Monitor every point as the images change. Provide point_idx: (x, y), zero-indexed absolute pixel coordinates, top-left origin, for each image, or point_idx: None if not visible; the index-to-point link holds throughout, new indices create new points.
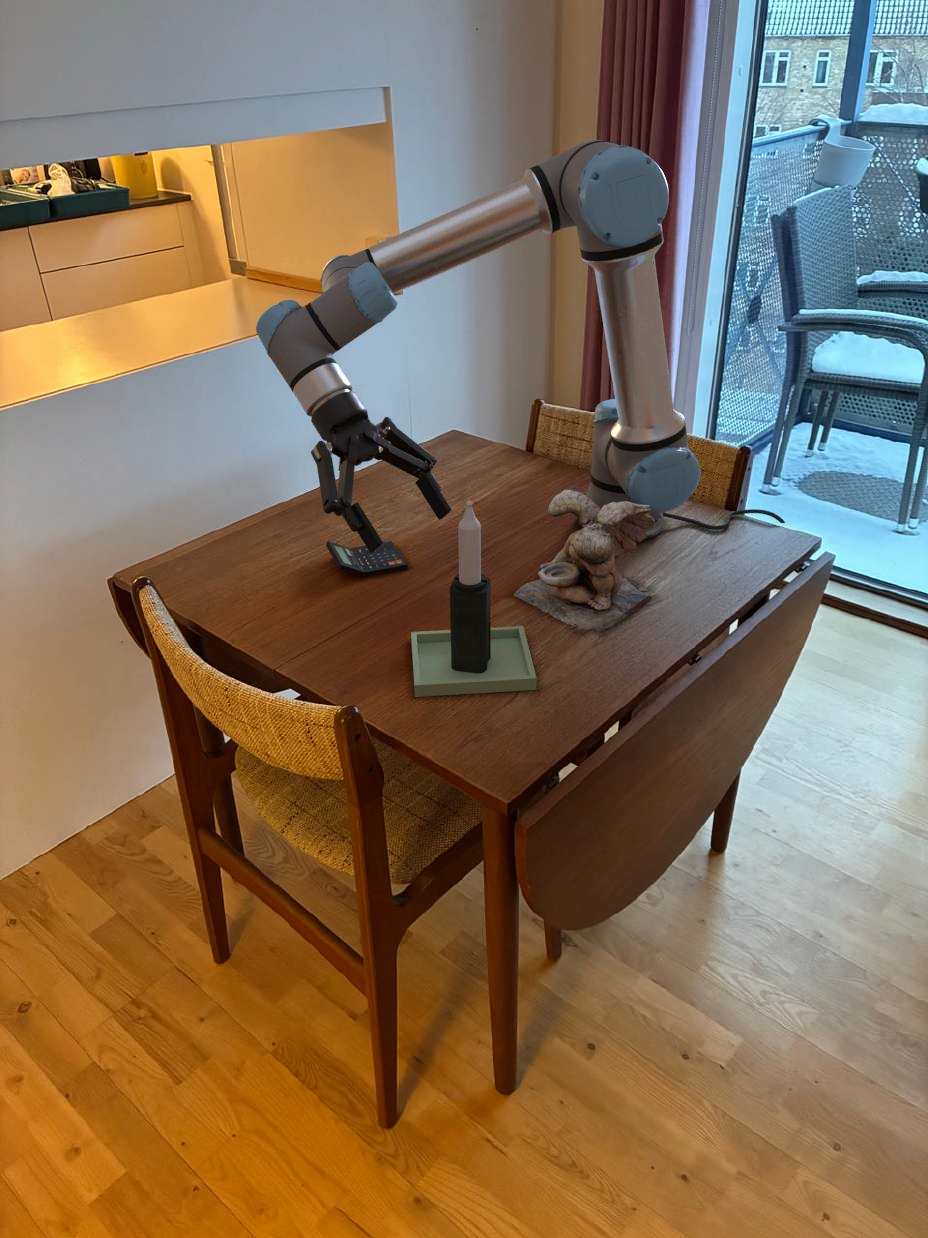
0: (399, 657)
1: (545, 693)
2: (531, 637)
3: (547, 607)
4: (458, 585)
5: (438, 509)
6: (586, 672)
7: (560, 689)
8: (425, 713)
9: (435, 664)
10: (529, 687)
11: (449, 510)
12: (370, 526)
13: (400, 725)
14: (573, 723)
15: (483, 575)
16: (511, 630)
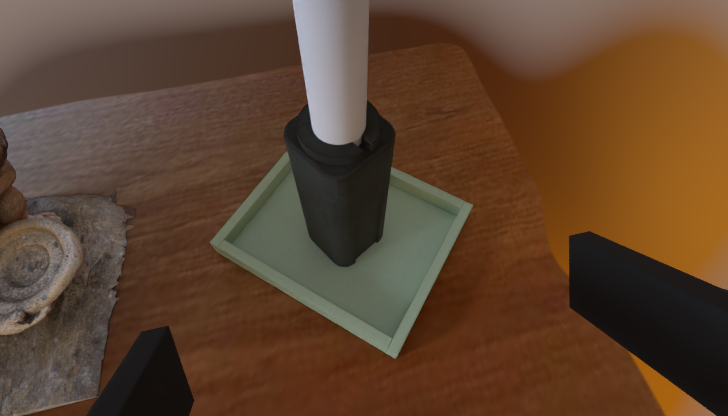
0: (439, 329)
1: None
2: (206, 244)
3: (100, 300)
4: (378, 118)
5: (171, 398)
6: (224, 134)
7: (282, 126)
8: (470, 179)
9: (399, 261)
10: None
11: (157, 328)
12: (651, 264)
13: (513, 177)
14: None
15: (298, 122)
16: (235, 246)
